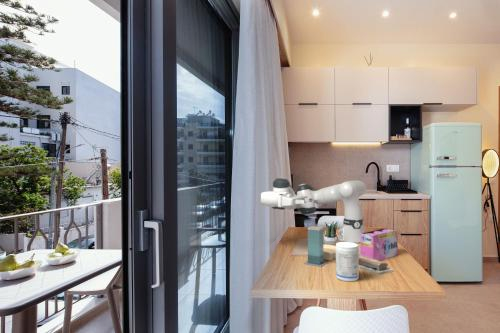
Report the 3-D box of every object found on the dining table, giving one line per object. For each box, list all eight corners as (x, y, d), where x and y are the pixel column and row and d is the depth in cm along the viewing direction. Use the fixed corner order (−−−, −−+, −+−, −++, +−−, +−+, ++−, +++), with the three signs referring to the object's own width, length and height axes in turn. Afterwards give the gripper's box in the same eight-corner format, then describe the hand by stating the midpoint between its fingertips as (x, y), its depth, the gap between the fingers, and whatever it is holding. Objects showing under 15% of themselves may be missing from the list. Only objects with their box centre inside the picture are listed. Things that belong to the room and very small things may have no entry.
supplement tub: (337, 273, 145) (337, 240, 145) (359, 276, 141) (359, 242, 141) (334, 280, 136) (334, 245, 136) (358, 283, 132) (357, 247, 132)
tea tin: (307, 263, 159) (307, 227, 159) (312, 260, 163) (311, 226, 163) (319, 265, 155) (319, 228, 155) (323, 262, 159) (323, 227, 159)
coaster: (303, 265, 158) (303, 263, 158) (311, 260, 165) (311, 259, 165) (321, 268, 153) (321, 266, 153) (328, 263, 160) (328, 261, 160)
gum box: (386, 251, 181) (386, 227, 181) (399, 254, 175) (399, 229, 175) (360, 259, 168) (359, 233, 168) (373, 262, 161) (373, 235, 161)
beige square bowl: (307, 259, 168) (306, 249, 168) (318, 252, 180) (318, 243, 180) (334, 263, 159) (334, 253, 159) (344, 256, 172) (344, 246, 172)
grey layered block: (348, 255, 159) (362, 252, 163) (348, 265, 159) (363, 262, 163) (378, 265, 143) (393, 261, 147) (378, 276, 143) (393, 272, 147)
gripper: (294, 203, 188) (316, 204, 180) (276, 207, 171) (300, 209, 163) (293, 192, 188) (316, 193, 180) (276, 195, 171) (300, 196, 163)
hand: (308, 201), depth 171 cm, fingers open, 8 cm apart
